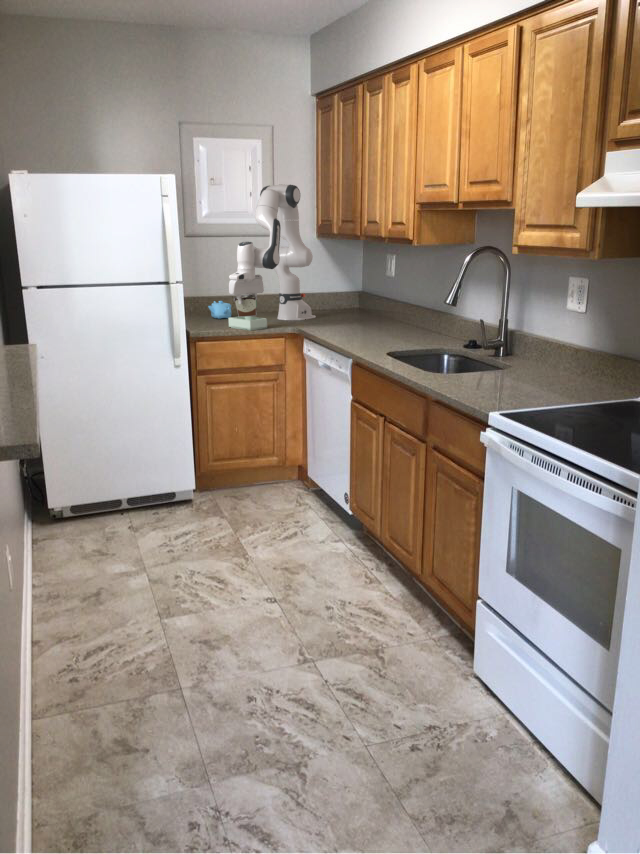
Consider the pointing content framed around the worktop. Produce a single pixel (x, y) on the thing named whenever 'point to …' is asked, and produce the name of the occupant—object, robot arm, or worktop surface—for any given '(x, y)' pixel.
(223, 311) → the teapot
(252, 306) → the food container
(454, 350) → the worktop surface
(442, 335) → the worktop surface
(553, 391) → the worktop surface
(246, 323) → the crate
